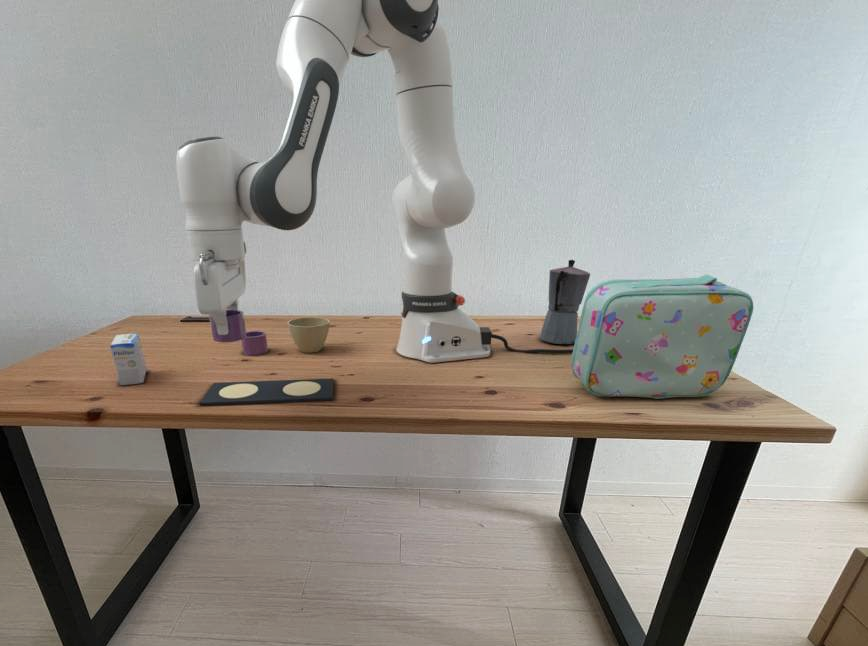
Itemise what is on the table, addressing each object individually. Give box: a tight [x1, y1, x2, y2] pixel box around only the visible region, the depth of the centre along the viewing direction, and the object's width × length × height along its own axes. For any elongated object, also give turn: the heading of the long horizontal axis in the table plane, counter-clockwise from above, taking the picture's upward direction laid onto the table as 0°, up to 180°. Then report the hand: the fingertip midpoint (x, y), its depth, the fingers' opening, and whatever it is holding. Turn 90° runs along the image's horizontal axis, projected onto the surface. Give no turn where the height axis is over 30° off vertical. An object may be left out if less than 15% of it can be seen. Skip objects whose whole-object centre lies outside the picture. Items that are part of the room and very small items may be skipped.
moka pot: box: [539, 259, 591, 345], centre depth 113 cm, size 10×15×20 cm, turn 148°
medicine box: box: [109, 333, 147, 386], centre depth 94 cm, size 8×4×9 cm, turn 21°
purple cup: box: [241, 330, 269, 356], centre depth 111 cm, size 6×6×4 cm
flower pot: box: [287, 316, 331, 354], centre depth 111 cm, size 10×10×7 cm
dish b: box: [208, 309, 247, 343], centre depth 82 cm, size 6×6×4 cm
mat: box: [199, 377, 335, 407], centre depth 88 cm, size 24×10×1 cm, turn 94°
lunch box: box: [570, 274, 754, 400], centre depth 82 cm, size 27×10×21 cm, turn 90°
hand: (228, 328), depth 82 cm, fingers closed on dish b, 6 cm apart
